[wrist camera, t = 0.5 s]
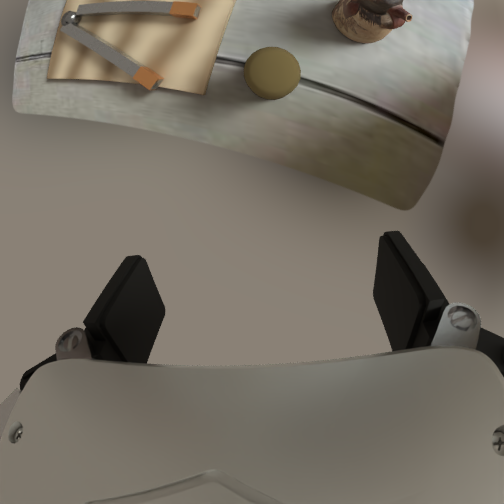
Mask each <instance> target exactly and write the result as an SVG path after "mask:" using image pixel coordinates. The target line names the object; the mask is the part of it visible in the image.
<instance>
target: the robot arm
mask: <svg viewBox="0 0 504 504" xmlns="http://www.w3.org/2000/svg"><path fill="white" fill-rule="evenodd" d="M373 297H374V300H375V303H376V306H377V308H378V311H379V314H380V316H381V319H382V322H383V325H384V327H385V330H386V333H387V336H388V339H389V341H390V345H391V348H392V352H385V353H380V354H372V355H364V356H356V357H349V358H341V359H332V360H323V361H312V362H301V363H287V364H269V365H242V366H188V365H187V366H186V365H160V364H147V361H148V358H149V355H150V352H151V350H152V347H153V345H154V342H155V339H156V337H157V334H158V331H159V329H160V326H161V323H162V321H163V318H164V316H165V306H164V304H163V302H162V299H161V297H160V294H159V292H158V290H157V287H156V285H155V282H154V280H153V277H152V275H151V272H150V270H149V267H148V265H147V262H146V260H145V259H144V258H142V257H141V256H140V255H135V256H127V257H126V258H125V259H124V261H123V262H122V263H121V265H120V266H119V268H118V269H117V271H116V272H115V274H114V275H113V277H112V278H111V279H110V281H109V282H108V284H107V285H106V287H105V289H104V290H103V291H102V293H101V294H100V296H99V298H98V299H97V301H96V302H95V304H94V305H93V307H92V308H91V310H90V312H89V313H88V315H87V317H86V318H85V320H84V321H83V323H84V325H85V326H86V328H85V330H83V329H81V328H77V327H76V328H71V329H69V330H67V331H66V332H64V333H63V334H62V335H61V336H60V337H59V339H58V340H57V342H56V346H55V350H56V354H54V355H52V356H51V357H49V358H47V359H46V360H44V361H42V362H41V363H39V364H38V365H36V366H34V367H32V368H31V369H29V370H28V371H26V372H25V373H24V374H23V376H22V379H21V382H20V390H19V389H18V388H16V389H15V390H14V391H13V392H12V393H11V394H10V395H9V396H8V398H6V399H5V400H4V401H3V402H2V403H1V404H0V504H504V338H502V337H500V336H498V335H496V334H494V333H492V332H490V331H487V330H485V329H483V328H481V319H480V316H479V314H478V313H477V312H476V310H475V309H474V308H472V307H471V306H469V305H467V304H463V303H452V304H449V303H448V301H447V299H446V298H445V296H444V294H443V293H442V291H441V290H440V288H439V287H438V285H437V283H436V282H435V280H434V279H433V277H432V276H431V274H430V273H429V271H428V270H427V268H426V267H425V265H424V264H423V263H422V262H421V261H420V259H419V258H418V256H417V255H416V253H415V252H414V251H413V249H412V248H411V246H410V245H409V244H408V242H407V241H406V239H405V238H404V237H403V235H402V234H401V233H400V232H399V231H390V232H385V233H384V235H383V236H381V237H380V239H379V248H378V257H377V267H376V274H375V282H374V289H373Z"/></svg>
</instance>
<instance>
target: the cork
mask: <svg viewBox="0 0 504 504" xmlns="http://www.w3.org/2000/svg"><path fill="white" fill-rule="evenodd" d="M300 73H301V70H300V66H299V63H298V61H297V60H296V59H295V57H294V56H293V55H292V54H291V53H289V52H288V51H286V50H284V49H281V48H278V47H266V48H262V49H259V50H257V51H256V52H254V53H252V55H251V56H250V57H249V58H248V59H247V61H246V64H245V66H244V77H245V80H246V83H247V85H248V86H249V87H250V89H251V90H252V91H253V92H254V93H255V94H256V95H258V96H259V97H262V98H265V99H271V100H275V99H279V98H283V97H284V96H286V95H288V94H289V93H291V92H292V91H293V90H294V89H295V88H296V86H297V85H298V83H299V80H300Z"/></svg>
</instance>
